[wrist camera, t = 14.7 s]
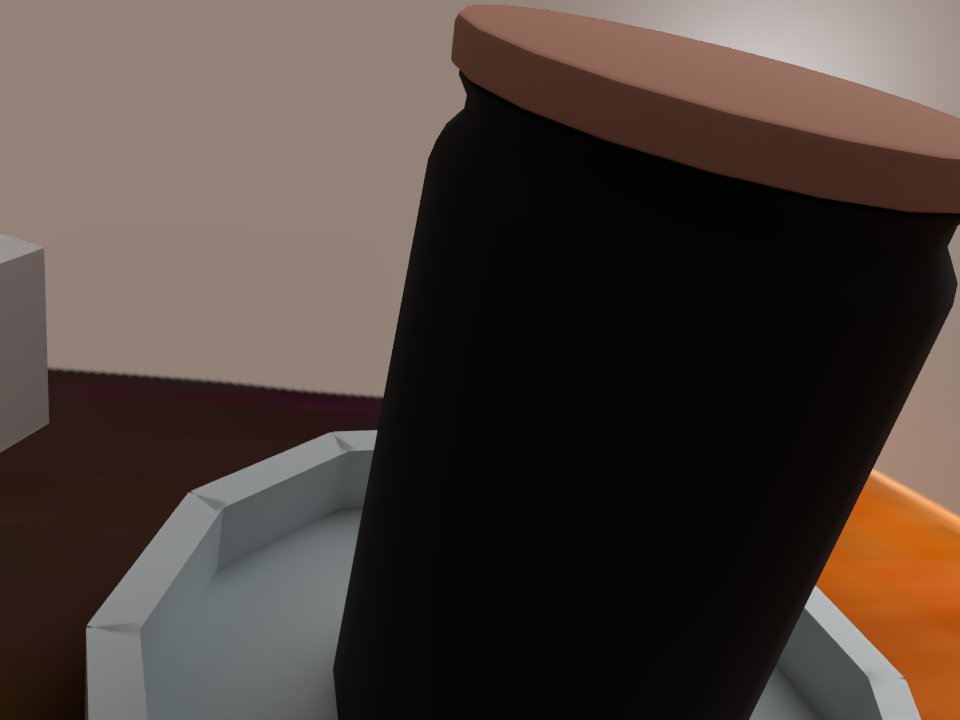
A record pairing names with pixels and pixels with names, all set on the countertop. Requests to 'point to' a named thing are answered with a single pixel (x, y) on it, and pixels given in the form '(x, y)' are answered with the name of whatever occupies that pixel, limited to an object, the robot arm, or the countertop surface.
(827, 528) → the coffee jar
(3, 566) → the countertop surface
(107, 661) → the bowl
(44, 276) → the robot arm
